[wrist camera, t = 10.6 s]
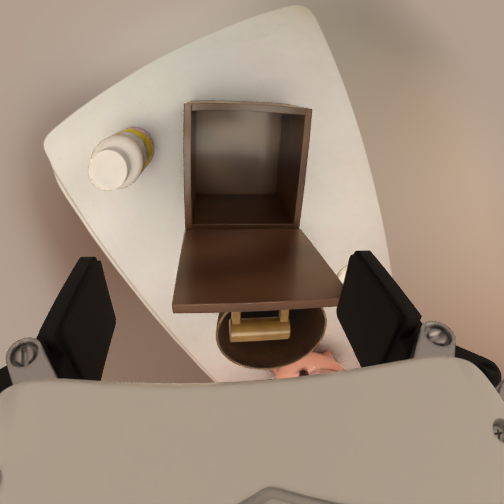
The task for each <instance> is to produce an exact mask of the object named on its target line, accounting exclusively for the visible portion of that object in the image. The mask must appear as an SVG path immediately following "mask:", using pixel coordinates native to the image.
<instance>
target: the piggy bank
mask: <svg viewBox="0 0 504 504" xmlns="http://www.w3.org/2000/svg"><path fill="white" fill-rule="evenodd" d="M343 370H344V368H343V367H342V366H341V365H340V364H339V363H338V362H337V361H336V360H334V359H333V358H332V354H331V352H329V351H325V352H323V353H321V354H320V353H316V352H311V353H310V354H308V355H307V356H306V357H304V358H303V359H301V360H299V361H297V362H295V363H293V364H290V365H287V366H284V367H280V368H275V369H272V371H273V373H274V375H275V378H274V379H279V378H289V377H298V376H307V375H315V374H323V373H330V372H337V371H343Z"/></svg>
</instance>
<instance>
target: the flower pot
mask: <svg viewBox="0 0 504 504" xmlns="http://www.w3.org/2000/svg"><path fill="white" fill-rule="evenodd" d="M262 317H279V310H271V311H249V312H241V318H262ZM288 318H289V322H290V336H289V338H288V339H279V340H264V341H245V342H230V336H229V319H231V312H219V316H218V322H217V329H216V341H217V345H218V347H219V349H220V351H221V352H222V354H223V355H224V356H225V357H226V358H227V359H229V360H230V361H232V362H233V363H235V364H237V365H239V366H242V367H245V368H250V369H258V370H267V369H275V368H280V367H284V366H287V365H290V364H293V363H295V362H297V361H299V360H301V359H303V358H304V357H306V356H307V355H308V354H310V353H311V352H312V351H313V350H314V349H315V348H316V347H317V346H318V344H319V343H320V341H321V340H322V338H323V336H324V334H325V331H326V326H327V319H326V314H325V311H324V309H323V308H322V307H320V308H306V309H290V310H289V315H288Z"/></svg>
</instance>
